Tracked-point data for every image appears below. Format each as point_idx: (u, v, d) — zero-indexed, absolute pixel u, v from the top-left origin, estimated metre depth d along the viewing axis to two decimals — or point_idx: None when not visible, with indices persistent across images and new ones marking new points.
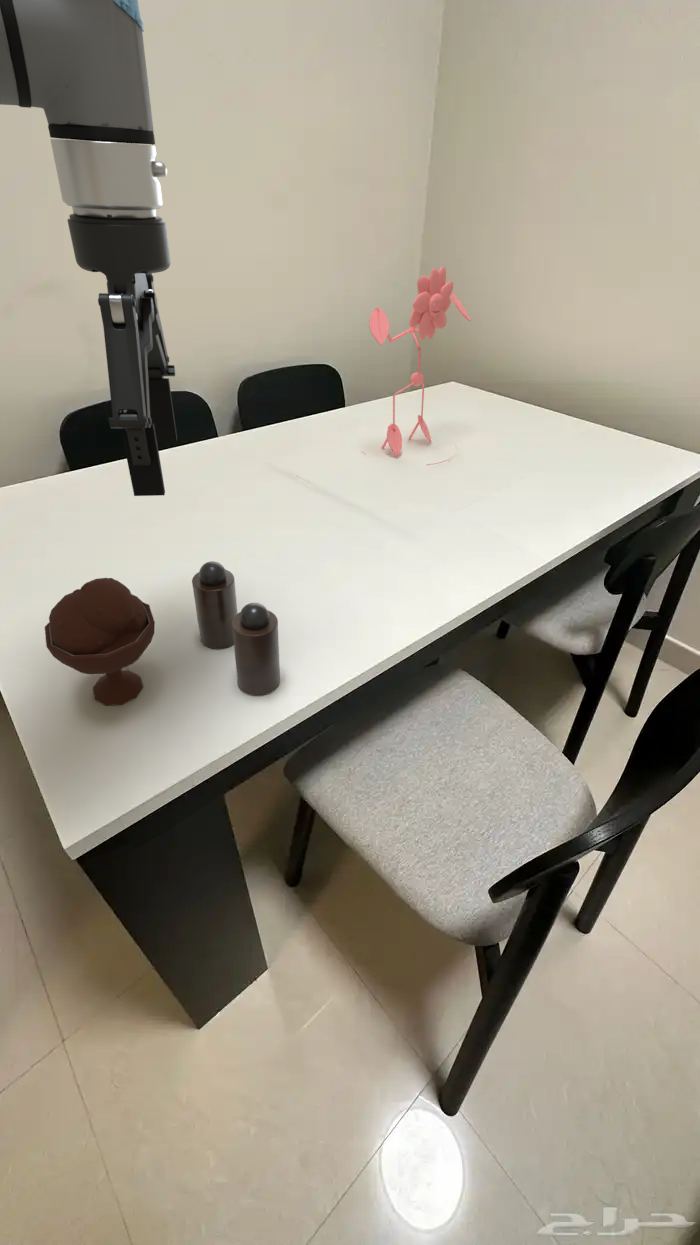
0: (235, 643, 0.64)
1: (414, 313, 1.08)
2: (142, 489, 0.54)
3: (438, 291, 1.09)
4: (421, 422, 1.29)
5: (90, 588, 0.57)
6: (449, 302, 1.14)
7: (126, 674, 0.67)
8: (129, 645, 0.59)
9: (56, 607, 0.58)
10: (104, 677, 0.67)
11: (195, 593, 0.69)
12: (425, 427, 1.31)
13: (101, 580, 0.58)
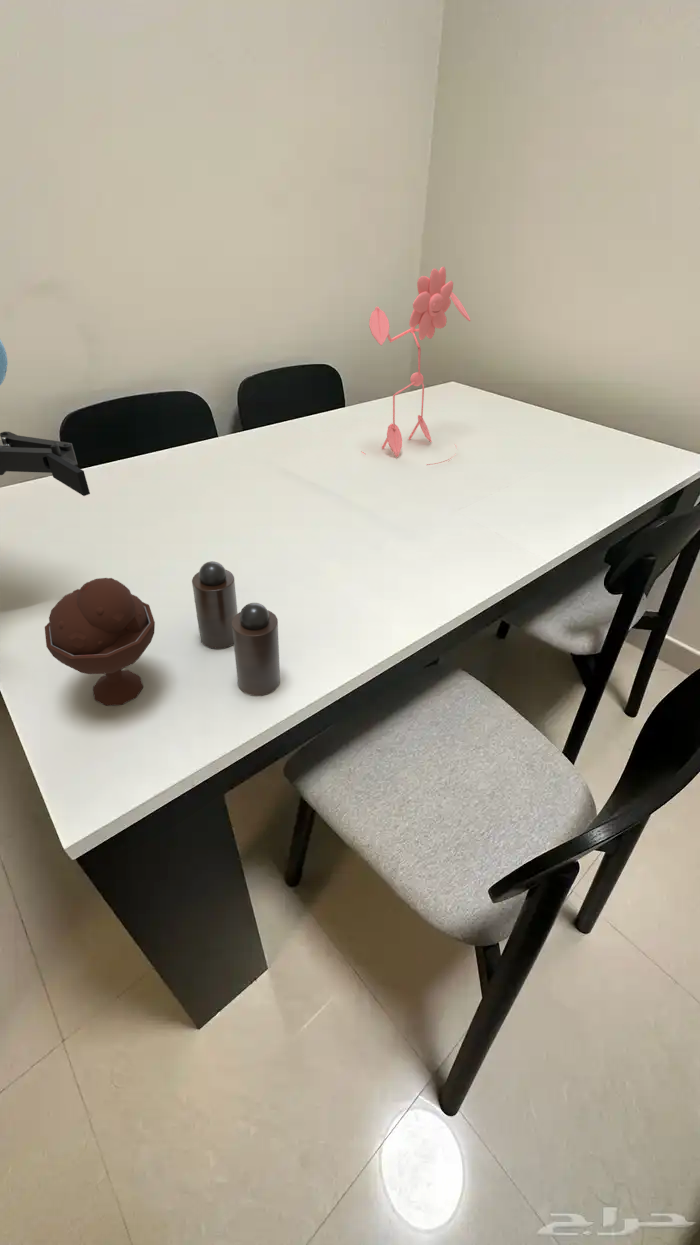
0: (235, 643, 0.64)
1: (414, 313, 1.08)
2: None
3: (438, 291, 1.09)
4: (421, 422, 1.29)
5: (90, 588, 0.57)
6: (449, 302, 1.14)
7: (126, 674, 0.67)
8: (129, 645, 0.59)
9: (56, 607, 0.58)
10: (104, 677, 0.67)
11: (195, 593, 0.69)
12: (425, 427, 1.31)
13: (101, 580, 0.58)
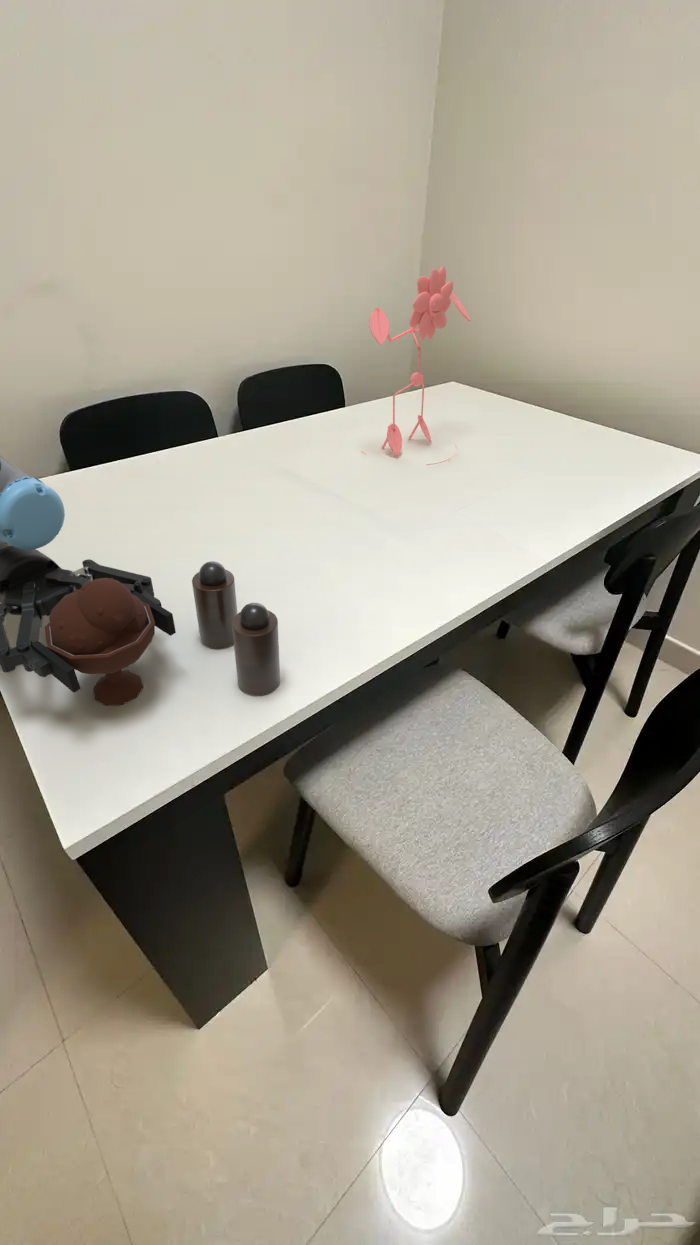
0: (235, 643, 0.64)
1: (414, 313, 1.08)
2: None
3: (438, 291, 1.09)
4: (421, 422, 1.29)
5: (90, 588, 0.57)
6: (449, 302, 1.14)
7: (126, 674, 0.67)
8: (129, 645, 0.59)
9: (56, 607, 0.58)
10: (104, 677, 0.67)
11: (195, 593, 0.69)
12: (425, 427, 1.31)
13: (101, 580, 0.58)
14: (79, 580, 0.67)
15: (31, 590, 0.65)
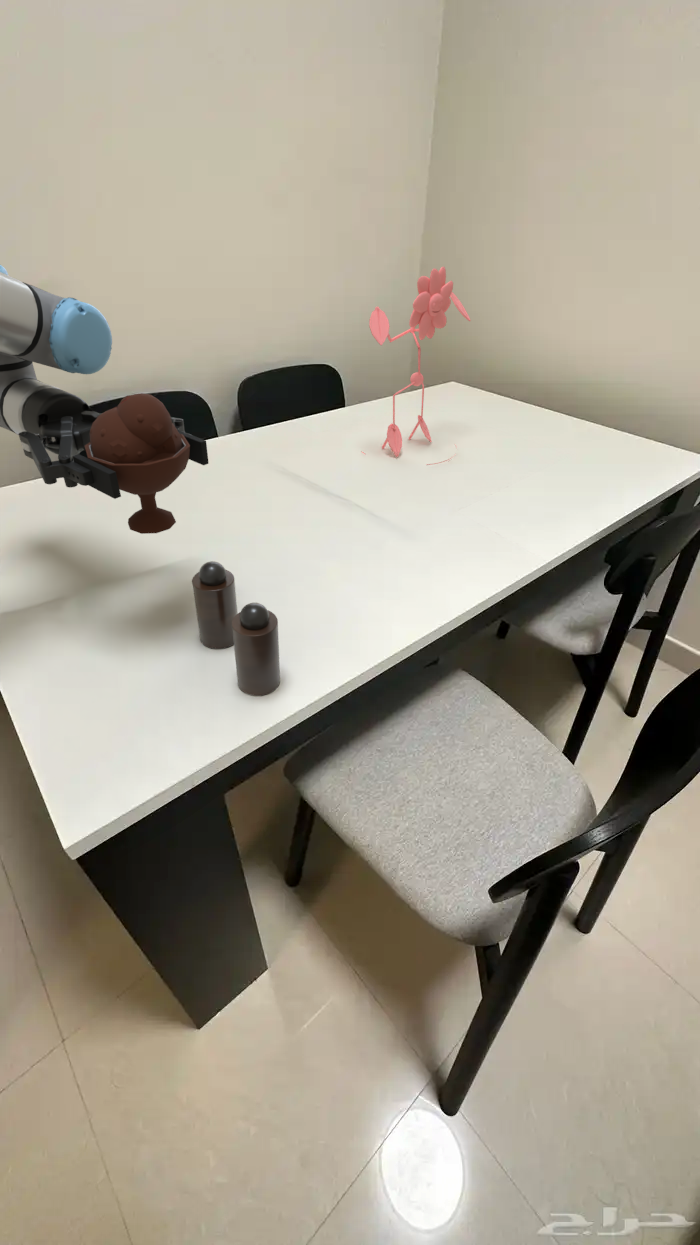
0: (235, 643, 0.64)
1: (414, 313, 1.08)
2: None
3: (438, 291, 1.09)
4: (421, 422, 1.29)
5: (130, 398, 0.59)
6: (449, 302, 1.14)
7: (160, 508, 0.69)
8: (167, 458, 0.61)
9: (97, 419, 0.60)
10: (139, 510, 0.69)
11: (195, 593, 0.69)
12: (425, 427, 1.31)
13: (140, 393, 0.60)
14: None
15: (69, 422, 0.67)
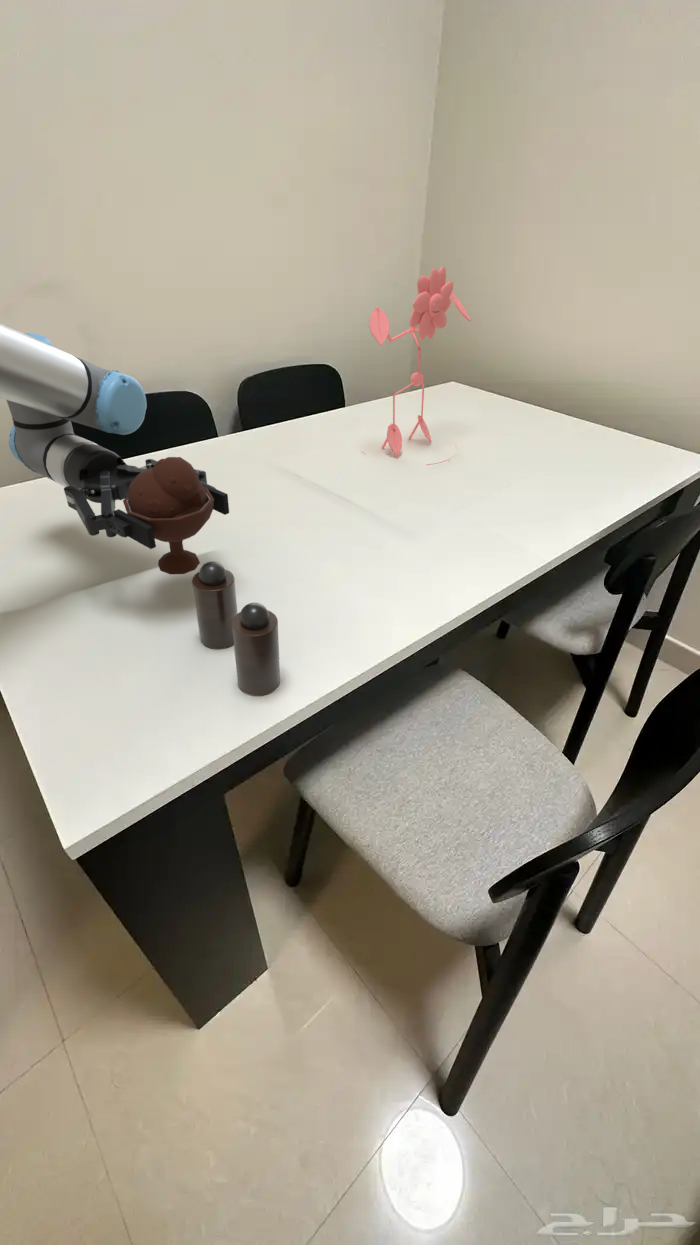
0: (235, 643, 0.64)
1: (414, 313, 1.08)
2: None
3: (438, 291, 1.09)
4: (421, 422, 1.29)
5: (164, 462, 0.69)
6: (449, 302, 1.14)
7: (186, 551, 0.79)
8: (195, 513, 0.70)
9: (135, 479, 0.70)
10: (167, 553, 0.78)
11: (195, 593, 0.69)
12: (425, 427, 1.31)
13: (172, 457, 0.70)
14: None
15: (107, 476, 0.77)
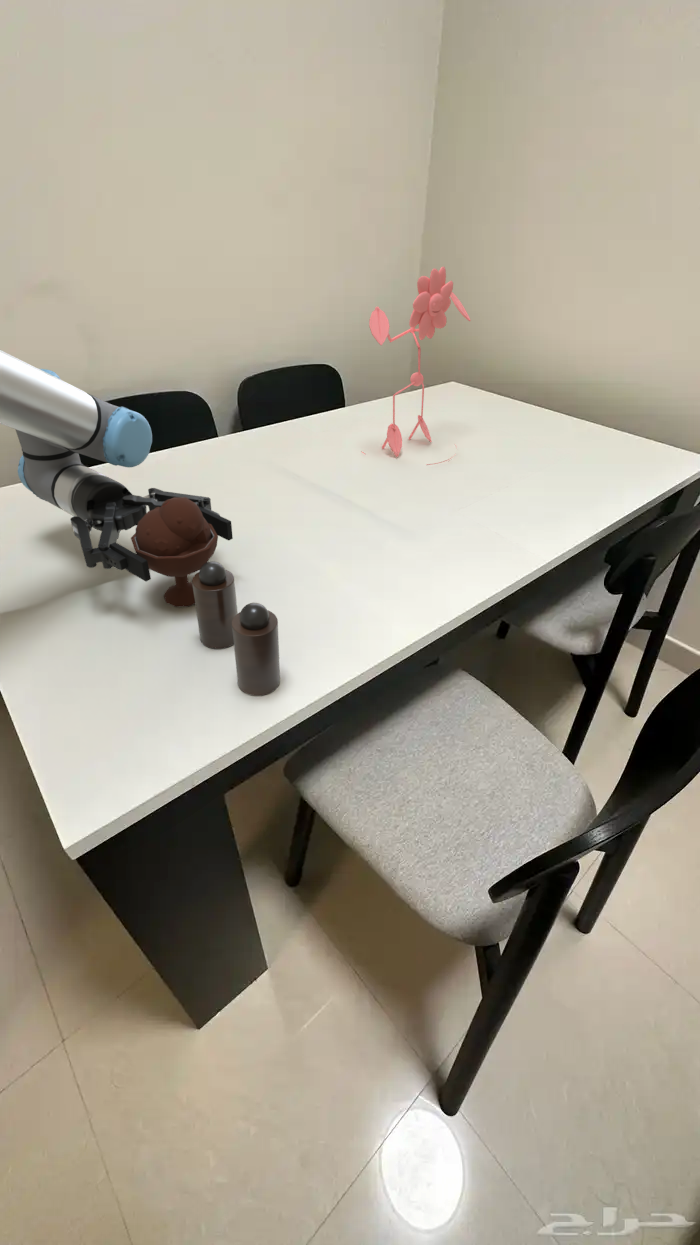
0: (235, 643, 0.64)
1: (414, 313, 1.08)
2: None
3: (438, 291, 1.09)
4: (421, 422, 1.29)
5: (170, 503, 0.72)
6: (449, 302, 1.14)
7: (190, 583, 0.82)
8: (200, 550, 0.74)
9: (142, 519, 0.73)
10: (173, 585, 0.82)
11: (195, 593, 0.69)
12: (425, 427, 1.31)
13: (178, 498, 0.73)
14: (151, 500, 0.82)
15: (112, 508, 0.79)
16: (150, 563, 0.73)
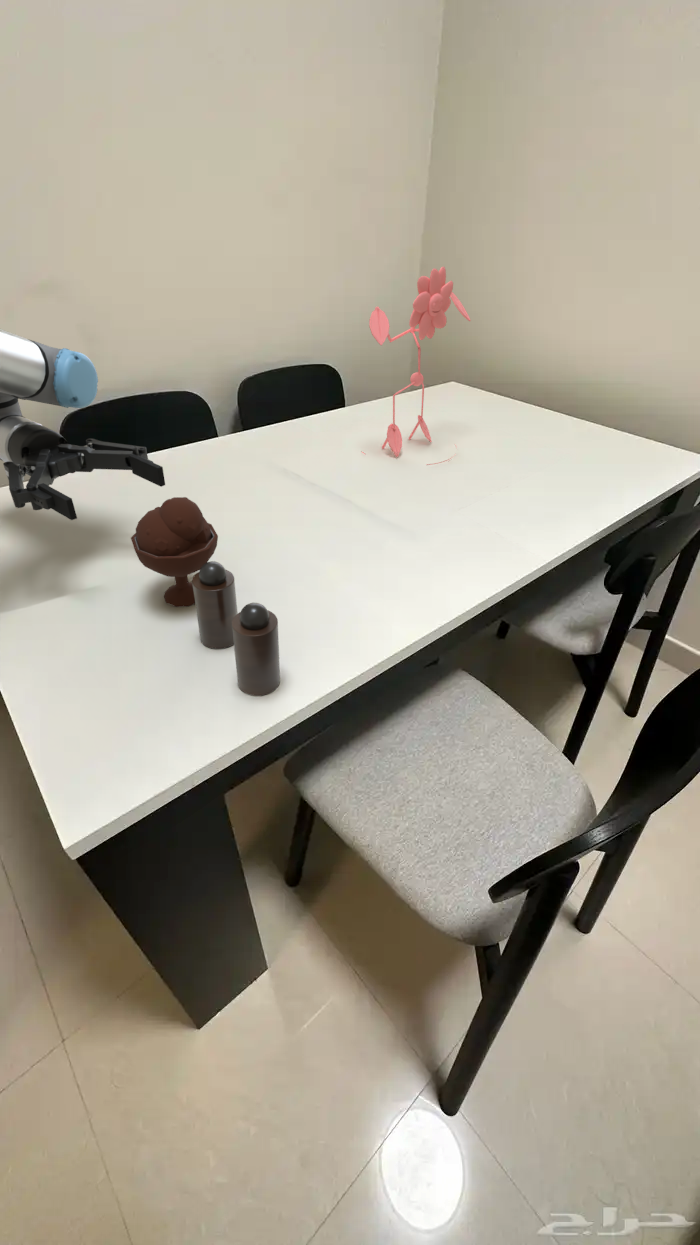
0: (235, 643, 0.64)
1: (414, 313, 1.08)
2: None
3: (438, 291, 1.09)
4: (421, 422, 1.29)
5: (170, 503, 0.72)
6: (449, 302, 1.14)
7: (190, 583, 0.82)
8: (200, 550, 0.74)
9: (142, 519, 0.73)
10: (173, 585, 0.82)
11: (195, 593, 0.69)
12: (425, 427, 1.31)
13: (178, 498, 0.73)
14: (86, 448, 0.83)
15: (46, 454, 0.81)
16: (150, 563, 0.73)
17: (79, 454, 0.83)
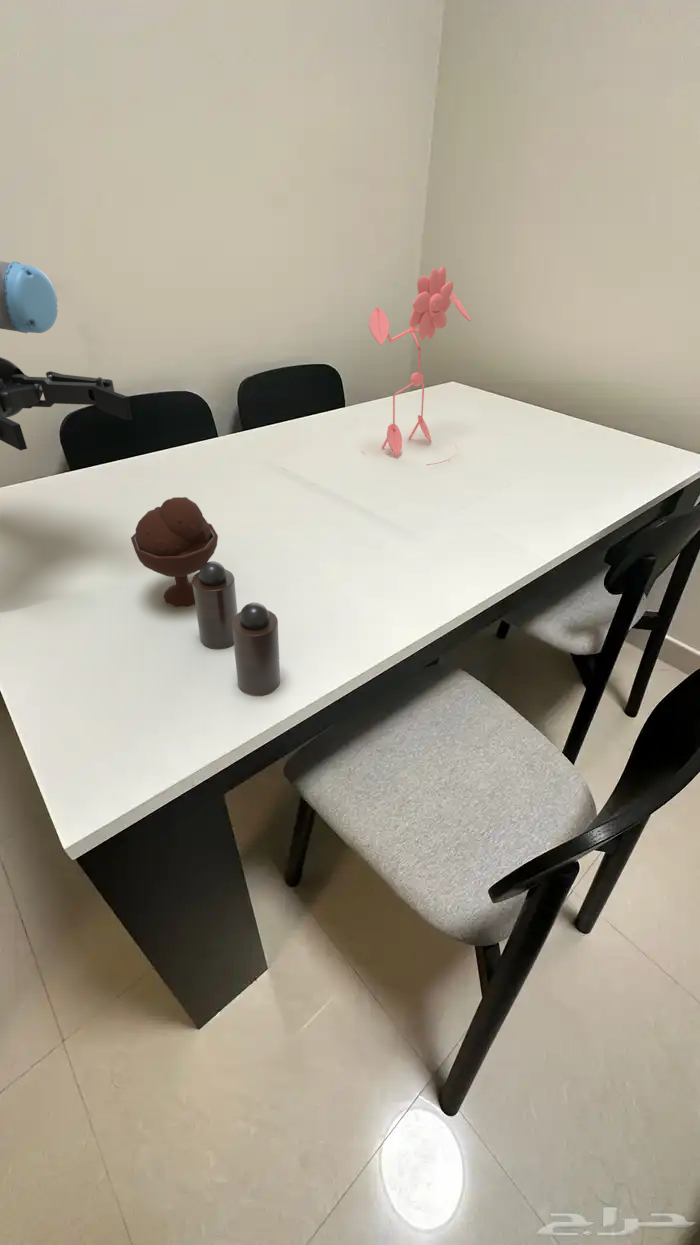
0: (235, 643, 0.64)
1: (414, 313, 1.08)
2: None
3: (438, 291, 1.09)
4: (421, 422, 1.29)
5: (170, 503, 0.72)
6: (449, 302, 1.14)
7: (190, 583, 0.82)
8: (200, 550, 0.74)
9: (142, 519, 0.73)
10: (173, 585, 0.82)
11: (195, 593, 0.69)
12: (425, 427, 1.31)
13: (178, 498, 0.73)
14: (44, 379, 0.74)
15: None
16: (150, 563, 0.73)
17: (36, 386, 0.74)
